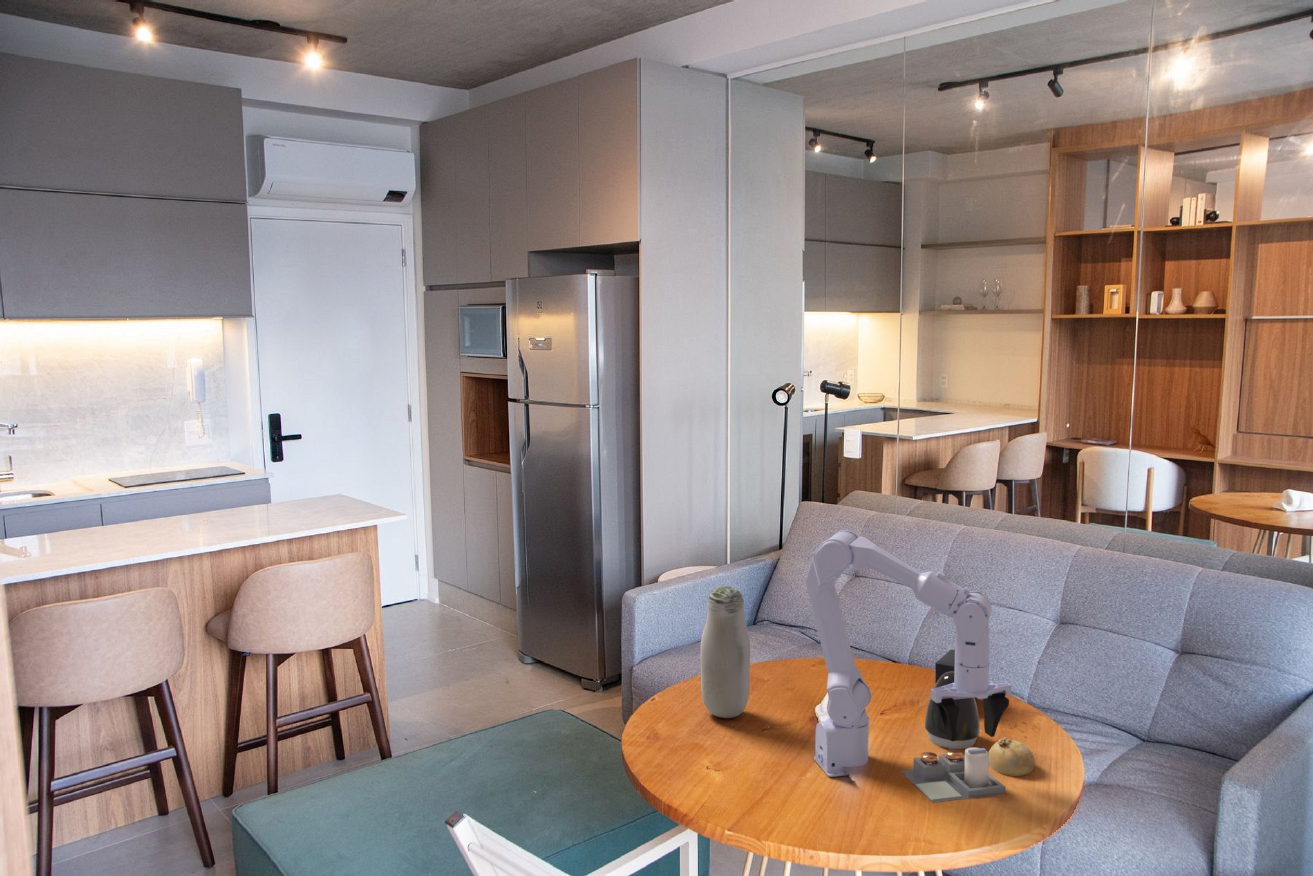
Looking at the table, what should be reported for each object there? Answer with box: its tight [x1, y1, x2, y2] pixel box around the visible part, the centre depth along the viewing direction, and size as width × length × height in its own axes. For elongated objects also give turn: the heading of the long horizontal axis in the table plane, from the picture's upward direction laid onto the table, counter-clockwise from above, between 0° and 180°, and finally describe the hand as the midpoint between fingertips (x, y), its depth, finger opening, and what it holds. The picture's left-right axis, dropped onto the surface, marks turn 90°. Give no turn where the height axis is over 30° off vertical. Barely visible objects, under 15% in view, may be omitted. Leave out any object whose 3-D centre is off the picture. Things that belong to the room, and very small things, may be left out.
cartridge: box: [964, 747, 990, 788], centre depth 165 cm, size 4×4×6 cm
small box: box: [934, 649, 978, 701], centre depth 205 cm, size 11×6×10 cm, turn 144°
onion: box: [988, 736, 1036, 777], centre depth 172 cm, size 8×8×7 cm
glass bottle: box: [700, 585, 751, 719], centre depth 199 cm, size 10×10×28 cm
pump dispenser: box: [924, 671, 981, 750], centre depth 183 cm, size 10×10×15 cm
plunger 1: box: [920, 751, 938, 765], centre depth 169 cm, size 3×3×3 cm
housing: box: [899, 753, 1008, 804], centre depth 166 cm, size 14×12×4 cm
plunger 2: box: [945, 749, 964, 762], centre depth 170 cm, size 3×3×3 cm
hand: (970, 737), depth 166 cm, fingers open, 7 cm apart
